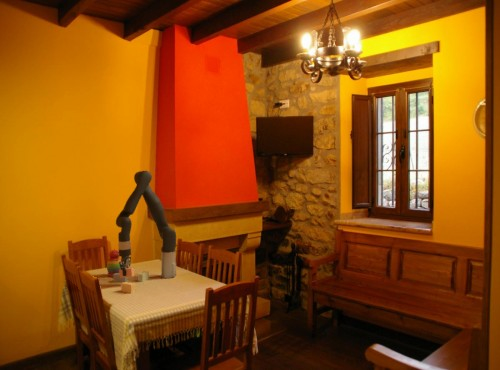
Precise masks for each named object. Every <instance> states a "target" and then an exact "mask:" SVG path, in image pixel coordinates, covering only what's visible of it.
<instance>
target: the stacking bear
mask: <svg viewBox="0 0 500 370" xmlns="http://www.w3.org/2000/svg"><path fill="white" fill-rule="evenodd" d="M108 257H109V258H108V260H107V264H106V270H107V277H108V278H113V274H115V273H119V270H120V264H119V262H120V261H121V258H120V256H119V250H118V249H115V248H114V249H112V250H110V251H109V253H108Z"/></svg>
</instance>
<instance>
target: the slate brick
mask: <svg viewBox="0 0 500 370" xmlns="http://www.w3.org/2000/svg"><path fill="white" fill-rule="evenodd" d="M112 278H113V280H112V281H113V283H124V282H128V277H124V278H120V274H119V273H115V274H113V277H112Z"/></svg>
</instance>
